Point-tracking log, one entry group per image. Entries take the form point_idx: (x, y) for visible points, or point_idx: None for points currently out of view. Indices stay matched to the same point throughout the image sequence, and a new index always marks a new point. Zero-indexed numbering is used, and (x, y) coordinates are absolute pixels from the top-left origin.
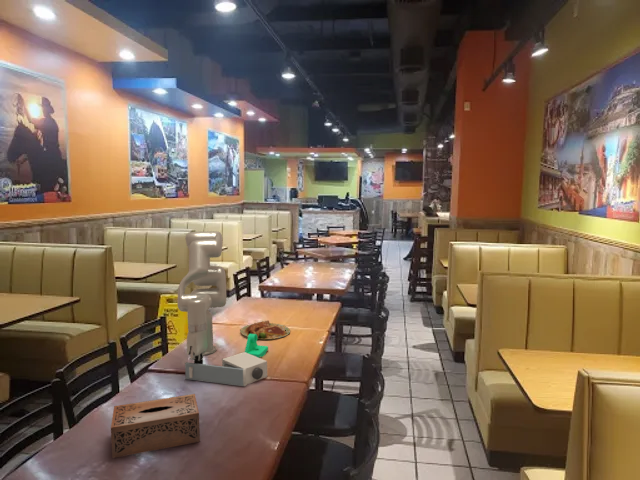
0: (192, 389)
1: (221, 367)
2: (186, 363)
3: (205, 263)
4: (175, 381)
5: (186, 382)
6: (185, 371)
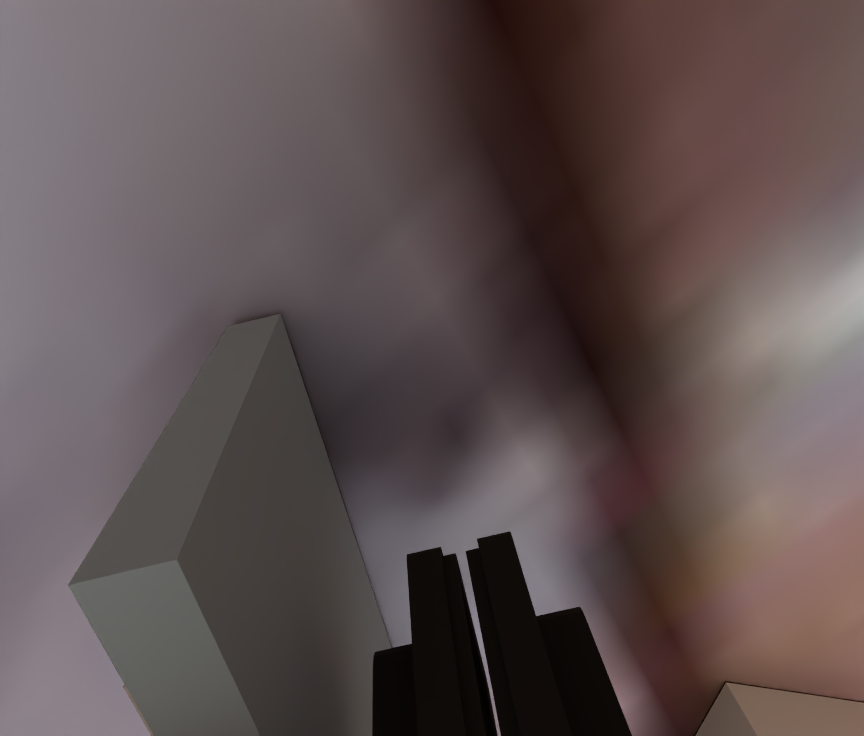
0: (34, 696)
1: None
2: (104, 629)
3: None
4: (15, 188)
5: (149, 431)
6: (183, 403)
